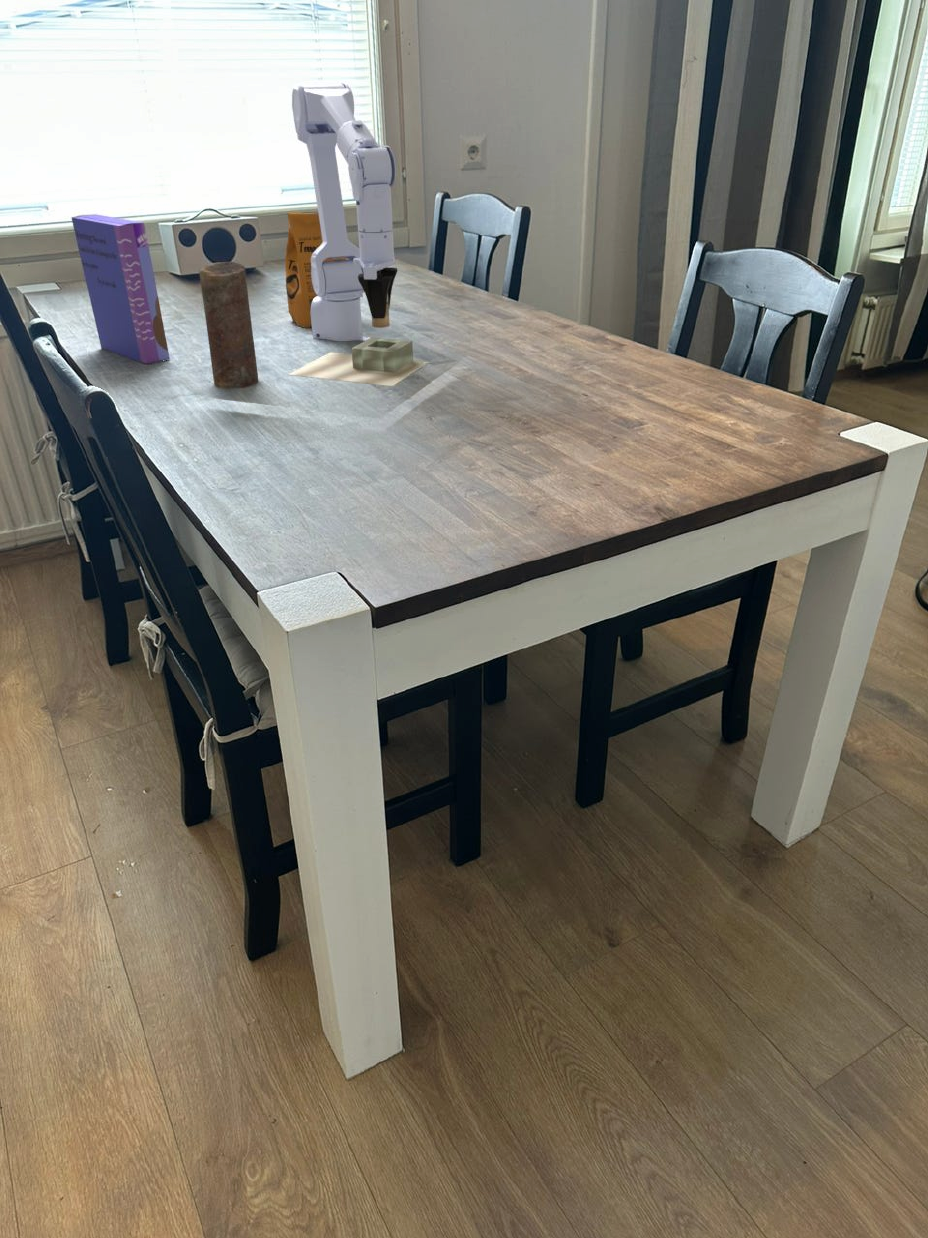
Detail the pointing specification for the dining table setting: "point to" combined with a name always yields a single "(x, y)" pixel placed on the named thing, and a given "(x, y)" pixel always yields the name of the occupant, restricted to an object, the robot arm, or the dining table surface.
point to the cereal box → (121, 287)
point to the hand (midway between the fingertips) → (380, 315)
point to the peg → (382, 322)
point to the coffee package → (302, 265)
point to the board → (352, 375)
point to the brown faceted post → (229, 325)
